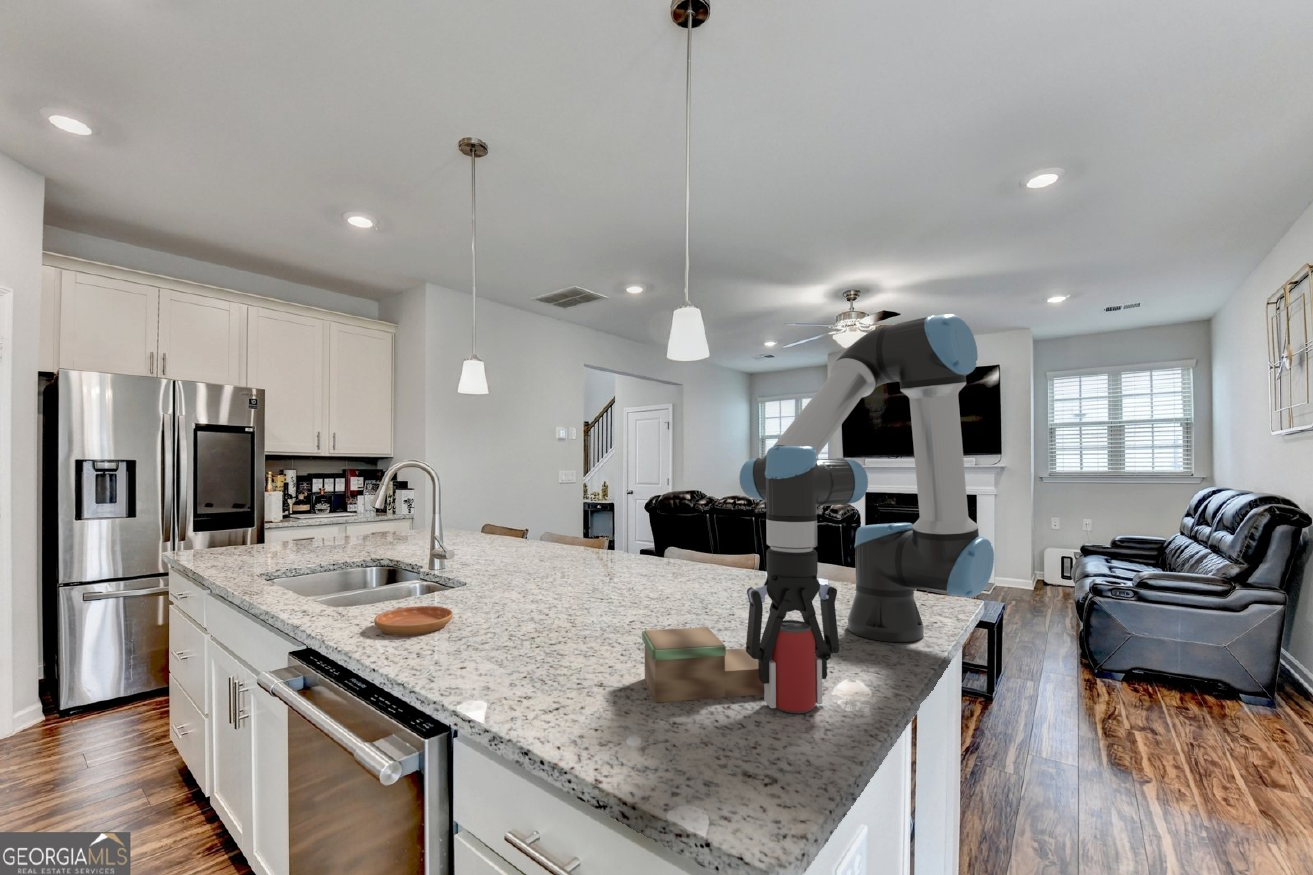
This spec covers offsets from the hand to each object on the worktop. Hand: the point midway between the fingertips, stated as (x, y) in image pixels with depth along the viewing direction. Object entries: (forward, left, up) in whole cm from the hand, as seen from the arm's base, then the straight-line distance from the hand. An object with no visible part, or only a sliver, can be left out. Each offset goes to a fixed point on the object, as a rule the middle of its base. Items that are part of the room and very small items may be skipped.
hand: (793, 702), depth 88 cm
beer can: (0, 0, -1) cm, 1 cm away
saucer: (+65, -54, -1) cm, 85 cm away
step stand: (+9, -10, -1) cm, 13 cm away
